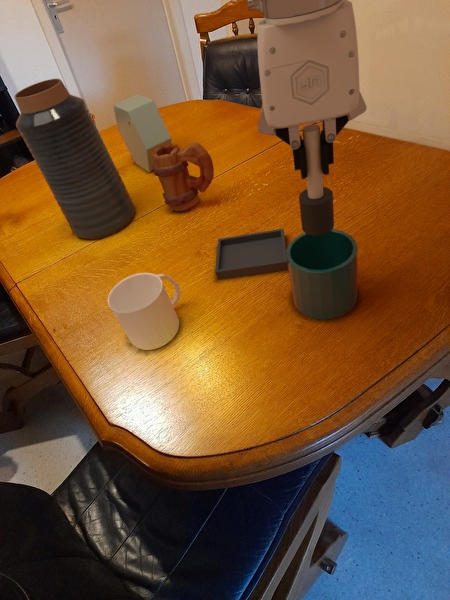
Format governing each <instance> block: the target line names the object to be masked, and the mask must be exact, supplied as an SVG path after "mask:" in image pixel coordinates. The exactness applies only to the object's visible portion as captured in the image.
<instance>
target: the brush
mask: <svg viewBox="0 0 450 600" xmlns="http://www.w3.org/2000/svg"><path fill="white" fill-rule="evenodd" d="M301 132H302V139H303V143H304V146H305V151H306V164H307V176H308V177H306V189H304V190H303V191H301V192H300V193H299V196H298V203H299V212H300V213H299V214H300V222H301V229H302V232H303V233H306V234H309V235H313V236H318V235H323V234H326V233H328V232H330V231H331V230H332V229H334V227H335V214H334V193H333V190H332V189H331V188H330V187H329V188H328V187H326V186H324V180H323V172H322V162H321V143H320V134H321V127H320V125H318V124H315V123H314V124H313V123H312V124H308V125H306V126H304V127H302V131H301Z"/></svg>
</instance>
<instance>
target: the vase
mask: <svg viewBox="0 0 450 600" xmlns="http://www.w3.org/2000/svg"><path fill="white" fill-rule="evenodd" d="M14 99H15V102H16V104H17V107H18V109H19V111H20V114H19V116H18V118H17V120H16V122H15V126H16V128H17V131H18V132H19V133H20V136H21V138H23V141H24V143H25V144H26V147H27V148H28V150H29V152H30V154H31V156H32V158H33V159H34V161H35V163H36V165H37V167H38V169H39V171H40V173H41V174H42V176H43V178H44V180H45V182H46V184H47V186H48V188H49V190H50V191H51V192H52V195H53V197H54V199H55V201H56V202H57V205H58V207H59V208H60V211H61V212H62V214H63V216H64V218H65V220H66V222H67V223H68V225H69V228H70V229H71V231H72V232H73V234H74V235H75V236H76V237H79V238H81V239H86V240H97V239H102V238H105V237H108V236H110V235H113V234H115V233H117V232H119V231H121V230H122V229H123V228H124V227H126V226H127V225H128V224H129V222H131V220H132V219H133V217H134V214H135V213H136V206H135V204H134V201H133V199H132V197H131V195H130V193H129V191H128V189H127V187H126V184H125V183H124V181H123V179H122V176H121V174H120V172H119V170H118V169H117V166H116V165H115V163H114V161H113V159H112V156H111V154H110V152H109V151H108V148H107V147H106V144H105V142H104V140H103V138H102V136H101V133H100V132H99V129H98V128H97V125H96V123H95V121H94V119H93V118H92V115H91V113H90V111H89V109H88V108H87V104H86V102H85V100H84V99H83V98H82V97H79V96H77V95H73V94H71V93H70V92H69V90H68V89H67V87H66V86H65V84H64V82H63V81H62V79H61V78H49V79H45V80H43V81H38V82H36V83H34V84H31V85H29V86H26V87H25V88H23V89H21V90H19V91H18V92H17V93H15V94H14Z"/></svg>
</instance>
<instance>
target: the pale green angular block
mask: <svg viewBox="0 0 450 600" xmlns="http://www.w3.org/2000/svg"><path fill="white" fill-rule="evenodd" d="M112 107H113V111H114V117H115V121H116V126H117V132H119V135H120V137H121V139H122V141H123V142H124V145H125V146H126V148H127V150H128V152H129V154H130V156H131V158H132V160H133V162H134V163H135V165H137V166H138V167H140V168H142V170H145V171H146V172H148V173H151V172H153V171H154V168H153V165H154V161H153V158H152V152H153V151H154V150H155V149H156V148H158V147H160V146H163V147H164V146H166V145H169V144H173V143H172V136H171V134H170V132H169V130H168V127H167V125H166V124H165V122H164V119H163V117H162V115H161V113H160V111H159V109H158V107H157V105H156V102H155V100H154V99H152V98H150V97H146V96H144V95H141V94H135V95H133V96H130V97H128V98H126V99H124V100H122V101H119V102H117V103H115V104H113V106H112Z"/></svg>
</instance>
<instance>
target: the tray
mask: <svg viewBox="0 0 450 600" xmlns="http://www.w3.org/2000/svg"><path fill="white" fill-rule="evenodd" d="M286 250H287V245H286V236H285V229H284V228H277V229H270V230H265V231H259V232H252V233H247V234H240V235H239V234H238V235H234V236H227V237H221V238H217V247H216V257H215V266H214V272H215V277H216V280H217V281H218V280H226V279H233V278H241V277H247V276H255V275H262V274H268V273H269V274H270V273H275V272H283V271H289V269H288V262H287V255H286Z"/></svg>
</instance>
